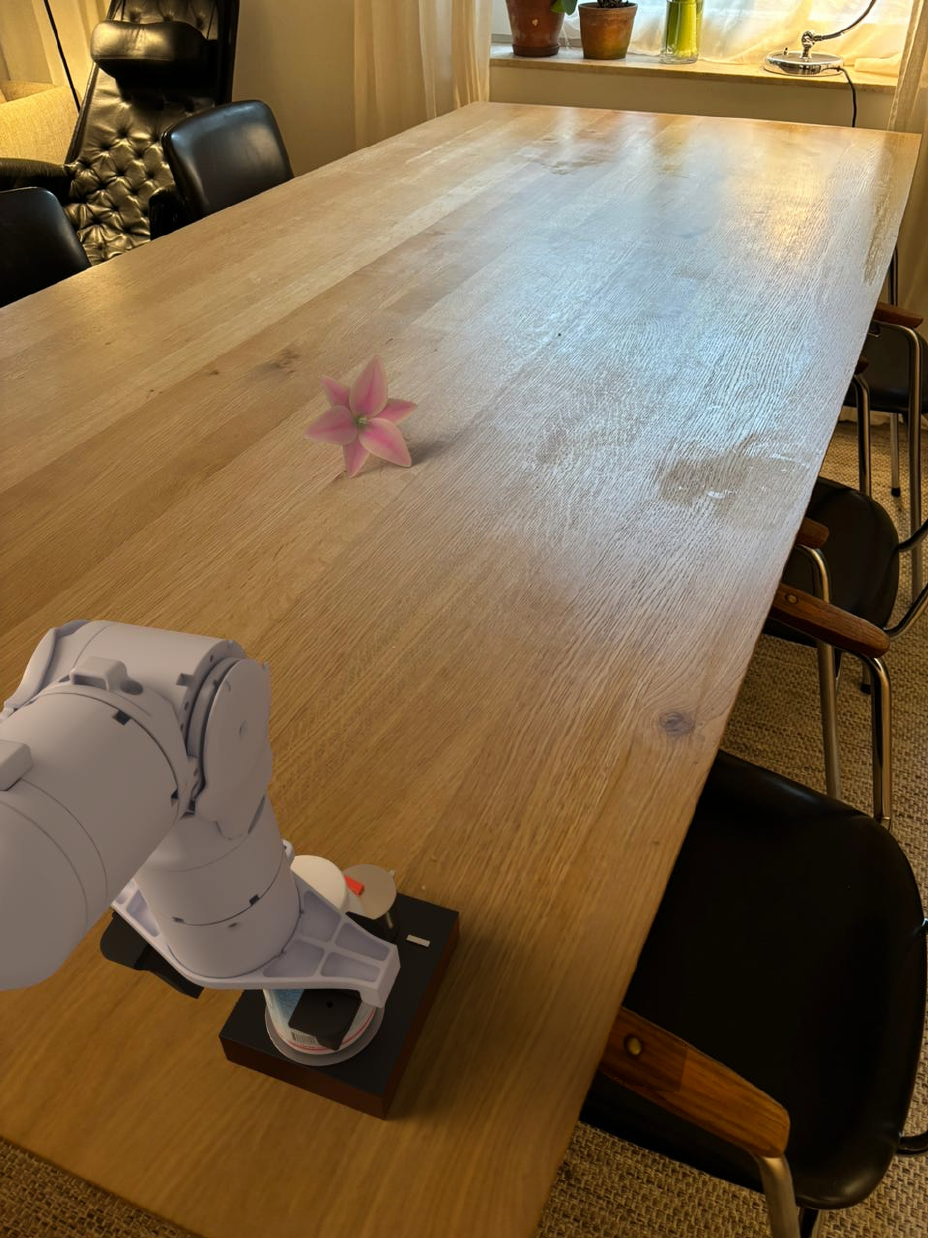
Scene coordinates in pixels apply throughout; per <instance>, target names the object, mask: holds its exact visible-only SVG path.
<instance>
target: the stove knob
mask: <svg viewBox="0 0 928 1238" xmlns="http://www.w3.org/2000/svg"><path fill="white" fill-rule="evenodd" d="M341 872H342V874H343V875H344V877H345V880H346V883H347V887H348V888H349V889H350V890H351V891H352V892H353V893H354V894H355V895H356V896H357V898H358V899H359V900H360V902H361V904H362V906H363V909H364V912H365V915H366V917H368V918H371V919H374V920H376V921H378V922H380V923H381V924H382V925H383V926H384V927H385V929H386V931H387V935H388V942H389V943H391V942H392V940H393V939H394V938H395V936H396V935H397V932H398V929H399V924H400V921H399V910H398V899H397V892H398V890H397V884H396V880H395V878H393V877H392V876H391V875H390V874H389V872H388V870H386V869H385V868H383V867H381V866H379V865H376V864H371V863H358V864H355V865H351V866H349V867H346V868H345V869H343V870H341Z"/></svg>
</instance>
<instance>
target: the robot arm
mask: <svg viewBox="0 0 928 1238" xmlns="http://www.w3.org/2000/svg"><path fill="white" fill-rule="evenodd" d="M271 710H272V678H271V670H270V665H269V662H268V661H264V663H262V665H261V663H260V662H258V661H257V660H256V659H254V658H250V657H248V655H247V652H246V650H245V649H244V648H243V646H242V645H241V644H240V643H238V642H237V641H236V640H232V639H227V638H226V639H225V638H220V637H214V636H208V635H201V634H195V633H189V632H183V631H177V630H171V629H165V628H164V629H163V628H157V627H150V626H145V625H138V624H132V623H126V622H118V621H112V620H106V619H97V620H93V621H92V620H89V619H85V618H77V619H74V620H70V621H68V622H65V623H63V624H62V625H61V626H55V627H52V628H50V629H49V630H48V631H47V633H45V635H44V636H43V637H42V639H41V640H40V641H39V642H38V644H37V646H36V648H35V650H34V651H33V653H32V655H31V657H30V659H29V661H28V663H27V666H26V668H25V670H24V674H23V676H22V679H21V681H20V684H19V685H18V687H17V689H16V690H15V691H14V692H13V694H12V695H11V696H10V697H9V698H7V699H6V700H5V701H4V702H3V709H2V711H1V712H0V992H6V991H17V990H21V989H22V990H23V989H27V988H30V987H33V986H36V985H39V984H40V983H42V982H44V981H46V980H48V979H49V978H51V977H52V976H53V975H55V973H57V972H58V970H59V969H60V968H61V967H62V966H63V965H64V963H65V962H66V961H67V960H68V959H69V957H70V956H71V954H72V953H73V952H74V951H75V950H76V948H77V947H78V946H79V945H80V944H81V942H82V941H83V940H84V939H85V937H86V936H87V935H88V934H89V932H90V931H91V930H92V928H94V926H95V925H96V923H98V921H99V920H100V919H101V918H102V917H103V915H104V914H105V913H106V912H107V910H110V909H111V910H113V911H112V913H111V918H112V919H111V921H110V922H109V923H108V924H107V927H106V928H105V929H104V931H103V933H102V934H101V936H100V941H99V950H100V952H101V954H102V956H103V958H105V959H106V960H108V961H111V962H113V963H115V964H119V965H121V966H124V967H126V968H129V969H131V970H134V971H138V972H142V971H146V972H150V973H151V974H152V975H154V976H156V977H157V978H159V979H160V980H162V981H163V982H164V983H166V984H167V985H168V986H169V987H171V988H173V989H174V990H176V991H177V992H179V993H180V994H182V995H184V996H188V997H189V998H190V997H191V998H193V999H196V1000H198V999H199V998H200V996H201V995H202V993H203V990H204V989H205V988H206V989H212V990H221V991H223V990H224V991H225V990H226V991H227V990H230V991H231V990H232V991H233V990H234V991H237V990H244V989H304V991H303V993H302V995H301V997H300V999H299V1001H298V1003H297V1005H296V1007H295V1009H294V1011H293V1013H292V1015H291V1017H290V1019H289V1021H288V1026H289V1028H292V1029H295V1030H297V1031H300V1032H303V1033H306V1034H308V1035H311V1036H314V1037H315V1038H316V1040H317V1042H318V1043H319V1044H320V1045H321V1046H323V1047H326V1048H328V1049H331V1050H334V1051H337V1050H339V1048H340V1046H341V1044H342V1041H343V1039H344V1037H345V1036H346V1034H347V1033H348V1031H349V1029H350V1027H351V1025H352V1023H353V1021H354V1019H355V1016H356V1014H357V1012H358V1010H359V1007H360V1005H361V1003H362V1001H364V1002H365V1003H368V1004H371V1005H374V1006H376V1007H379V1008H383V1007H384V1004H385V1002H386V1000H387V997H388V995H389V993H390V991H391V988H392V986H393V984H394V981H395V978H396V976H397V974H398V971H399V969H400V961H399V955H398V949H397V946H396V945H394V944H391V943H389V942H388V935H387V931H386V929H385V927H384V926H383V925H382V924H381V923H380V922H378V921H376V920H374V919H371V918H368V917H365V916H362V915H359V914H356V913H353V912H350V911H348V912H346V913H345V914H344V913H343V912H342V911H341V910H340V909H338V908H337V907H336V906H335V905H334V904H332V903H331V902H330V901H329V900H327V899H326V898H325V897H324V896H323V895H321V894H320V893H319V892H318V891H317V890H315V889H314V888H313V887H312V886H311V885H309V884H308V883H307V882H306V881H305V880H303V879H302V878H301V877H300V876H298V875H297V874H296V873H295V872H294V871H292V870H291V868H290V867H291V864H292V862H293V860H294V858H295V856H296V852H295V848H294V846H293V843H292V842H290V841H289V840H286V839H284V838H283V837H282V836H281V834H282V833H281V831H280V827H279V824H278V821H277V817H276V814H275V810H274V807H273V805H272V801H271V798H270V794H269V791H268V787H269V785H270V782H271V780H272V777H273V761H274V759H275V758H274V755H273V751H272V747H271V743H270V721H271V719H270V718H271V712H272V711H271Z"/></svg>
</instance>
